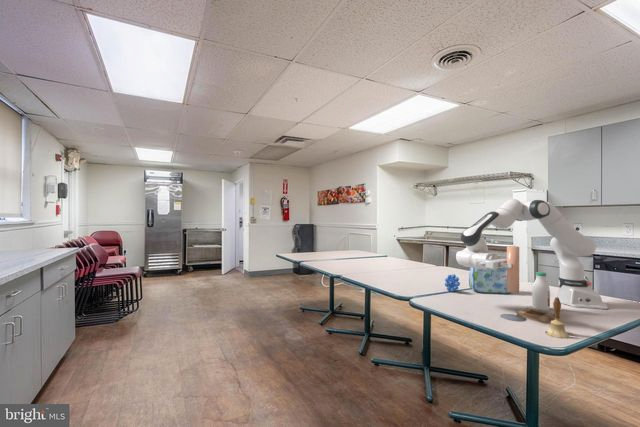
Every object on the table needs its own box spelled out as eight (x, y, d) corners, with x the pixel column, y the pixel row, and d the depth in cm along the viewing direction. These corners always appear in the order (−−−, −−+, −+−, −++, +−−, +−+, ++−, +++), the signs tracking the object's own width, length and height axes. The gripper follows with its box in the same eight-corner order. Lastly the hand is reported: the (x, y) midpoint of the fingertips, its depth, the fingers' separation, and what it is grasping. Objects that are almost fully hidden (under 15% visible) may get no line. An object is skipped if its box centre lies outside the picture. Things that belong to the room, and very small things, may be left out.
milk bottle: (544, 312, 161) (545, 274, 161) (529, 308, 168) (529, 271, 168) (552, 310, 164) (552, 273, 164) (537, 306, 171) (537, 270, 171)
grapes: (464, 293, 199) (464, 274, 199) (456, 294, 196) (457, 275, 196) (449, 289, 209) (449, 271, 209) (442, 290, 206) (442, 272, 206)
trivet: (525, 317, 152) (525, 315, 152) (528, 325, 142) (528, 322, 142) (499, 314, 157) (499, 312, 157) (500, 321, 147) (500, 319, 147)
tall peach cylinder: (518, 291, 151) (518, 246, 151) (519, 293, 146) (519, 247, 146) (506, 289, 153) (506, 245, 153) (507, 292, 149) (507, 246, 149)
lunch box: (509, 291, 205) (509, 259, 205) (516, 295, 195) (516, 262, 195) (467, 289, 210) (468, 258, 210) (473, 293, 199) (473, 261, 199)
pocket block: (527, 313, 159) (527, 307, 159) (555, 320, 149) (555, 314, 149) (516, 318, 152) (516, 312, 152) (545, 325, 142) (545, 318, 142)
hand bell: (570, 340, 125) (570, 301, 125) (545, 335, 131) (545, 298, 130) (569, 334, 132) (569, 297, 132) (545, 329, 137) (545, 294, 137)
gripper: (475, 256, 155) (504, 260, 143) (495, 254, 166) (524, 257, 155) (475, 269, 155) (504, 274, 143) (495, 265, 166) (524, 269, 155)
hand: (515, 265), depth 149 cm, fingers closed on tall peach cylinder, 5 cm apart
